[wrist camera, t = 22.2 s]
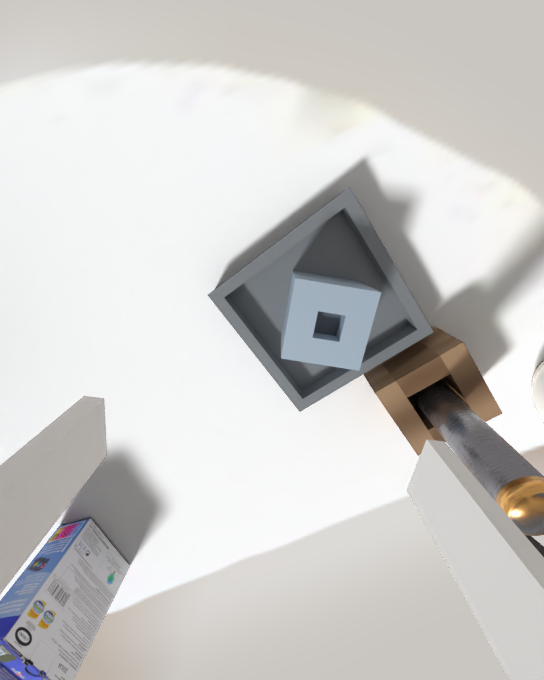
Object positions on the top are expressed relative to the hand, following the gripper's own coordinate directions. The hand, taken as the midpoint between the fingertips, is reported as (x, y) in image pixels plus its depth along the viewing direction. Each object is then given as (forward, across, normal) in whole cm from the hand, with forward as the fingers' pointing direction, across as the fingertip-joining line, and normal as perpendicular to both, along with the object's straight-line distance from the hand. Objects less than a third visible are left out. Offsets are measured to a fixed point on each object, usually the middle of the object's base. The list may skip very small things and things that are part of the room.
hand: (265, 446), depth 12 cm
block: (+16, -4, -3) cm, 17 cm away
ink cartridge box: (+18, +19, +34) cm, 43 cm away
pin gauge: (+15, -16, +3) cm, 22 cm away
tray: (+17, -4, -3) cm, 18 cm away
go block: (+16, -16, +3) cm, 23 cm away
